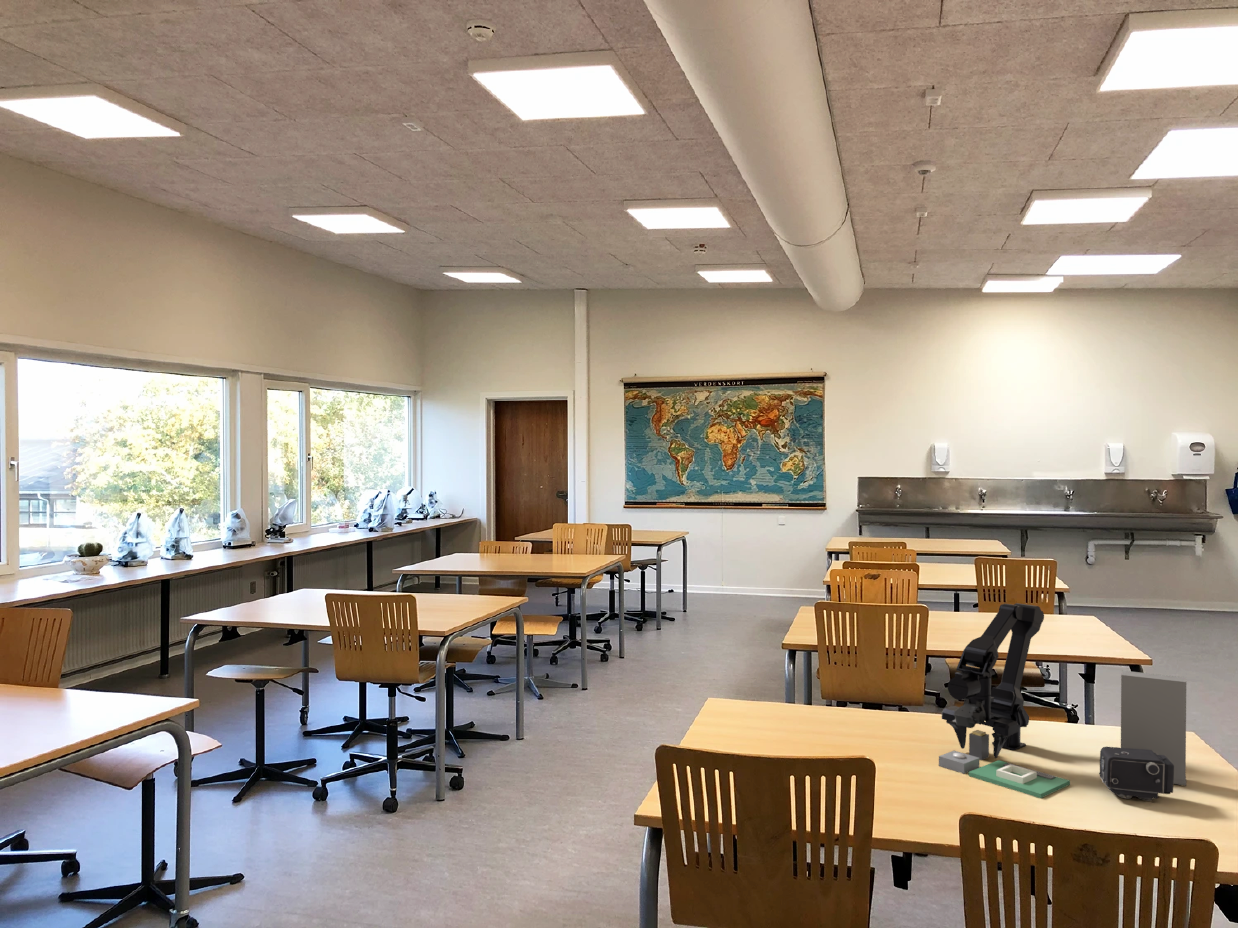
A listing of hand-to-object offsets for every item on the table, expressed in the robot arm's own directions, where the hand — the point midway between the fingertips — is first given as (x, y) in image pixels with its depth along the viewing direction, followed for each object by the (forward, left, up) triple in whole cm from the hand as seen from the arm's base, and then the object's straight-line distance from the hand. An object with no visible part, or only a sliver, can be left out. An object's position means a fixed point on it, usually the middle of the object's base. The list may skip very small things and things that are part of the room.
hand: (979, 752), depth 233 cm
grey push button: (+11, +1, -1) cm, 11 cm away
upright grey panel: (-20, +34, -1) cm, 39 cm away
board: (+8, +15, -1) cm, 17 cm away
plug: (0, 0, -1) cm, 1 cm away
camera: (-3, +37, -1) cm, 37 cm away
